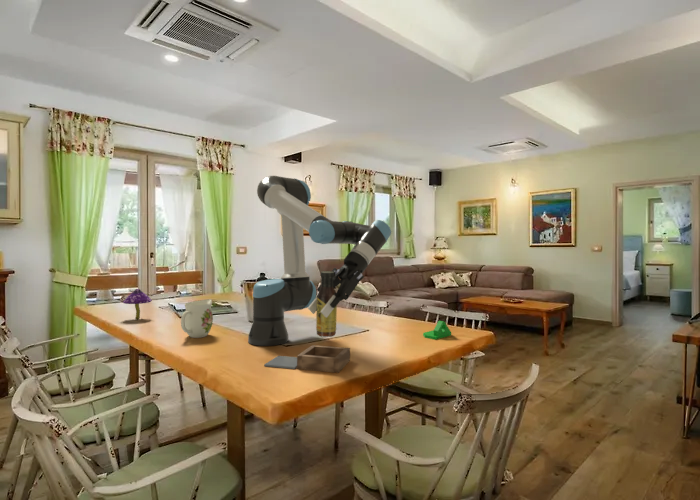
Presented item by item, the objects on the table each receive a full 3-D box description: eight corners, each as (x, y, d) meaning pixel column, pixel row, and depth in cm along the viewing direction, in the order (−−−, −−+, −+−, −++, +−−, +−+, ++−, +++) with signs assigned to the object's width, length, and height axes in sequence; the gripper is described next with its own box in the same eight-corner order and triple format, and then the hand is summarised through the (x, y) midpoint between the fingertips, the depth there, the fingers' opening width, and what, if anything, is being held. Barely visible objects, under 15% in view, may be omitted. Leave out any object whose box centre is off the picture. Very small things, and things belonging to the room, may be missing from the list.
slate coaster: (264, 366, 123) (264, 364, 123) (278, 357, 133) (278, 355, 133) (294, 369, 121) (294, 367, 121) (306, 359, 130) (306, 358, 130)
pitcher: (169, 340, 154) (169, 304, 154) (199, 330, 172) (199, 298, 172) (194, 342, 152) (194, 306, 151) (221, 332, 169) (221, 299, 169)
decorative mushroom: (118, 319, 195) (118, 288, 194) (145, 316, 204) (145, 286, 204) (129, 323, 187) (129, 290, 186) (156, 319, 196) (156, 288, 196)
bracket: (435, 332, 174) (435, 317, 174) (451, 335, 168) (451, 319, 168) (419, 337, 165) (419, 320, 165) (435, 340, 160) (435, 323, 160)
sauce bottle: (316, 332, 128) (316, 270, 128) (335, 332, 129) (336, 270, 128) (316, 337, 122) (316, 272, 121) (336, 337, 122) (337, 272, 122)
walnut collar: (297, 368, 121) (297, 355, 121) (312, 357, 134) (312, 345, 134) (338, 372, 118) (338, 359, 118) (349, 360, 130) (349, 348, 130)
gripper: (385, 268, 127) (343, 326, 117) (347, 264, 142) (307, 315, 132) (373, 251, 123) (328, 309, 113) (335, 249, 138) (293, 300, 128)
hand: (317, 312), depth 123 cm, fingers closed on sauce bottle, 6 cm apart
